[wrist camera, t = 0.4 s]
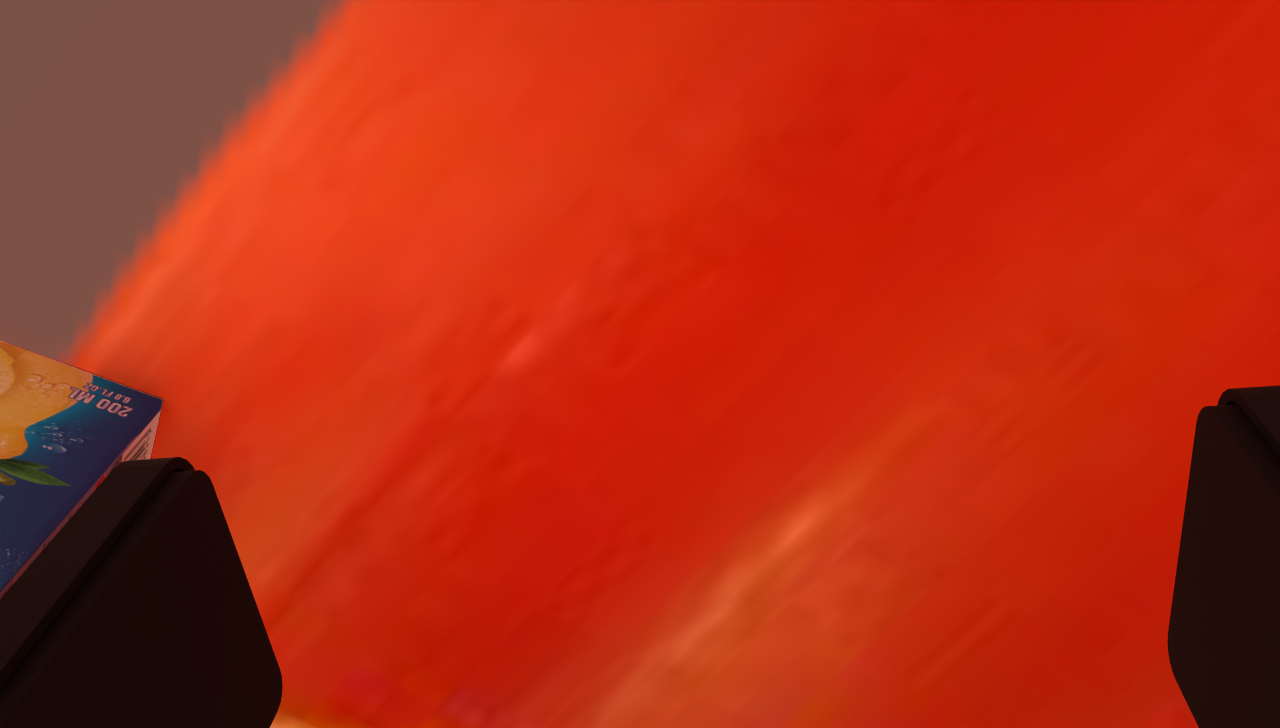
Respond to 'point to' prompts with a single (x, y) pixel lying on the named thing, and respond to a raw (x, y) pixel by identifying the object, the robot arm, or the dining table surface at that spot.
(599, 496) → the dining table surface
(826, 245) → the dining table surface
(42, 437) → the beverage box
